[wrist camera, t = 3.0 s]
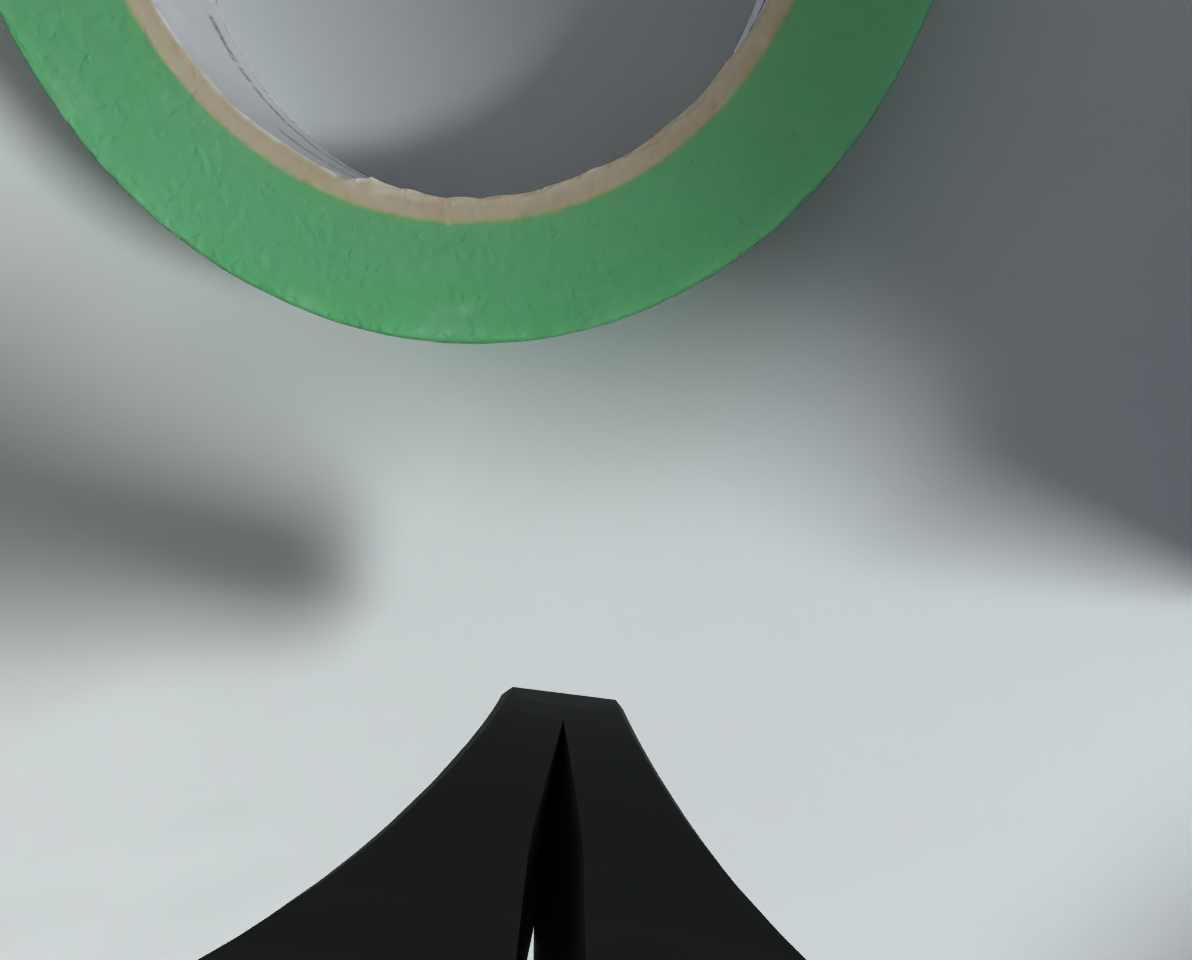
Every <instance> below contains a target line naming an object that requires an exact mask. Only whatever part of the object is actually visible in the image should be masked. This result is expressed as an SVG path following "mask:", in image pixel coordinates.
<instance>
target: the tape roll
mask: <svg viewBox="0 0 1192 960" xmlns="http://www.w3.org/2000/svg"><path fill="white" fill-rule="evenodd" d="M932 1H933V0H756V3H755V6H754V9H753V11H752V13H751V16H750V18H749V20H748V23H747V25H746V27H745V29H744V31H743V34H742V36H741V38H740V40H739V42H738V44H737V46H736V48H735V50H734V52H733V55H732V56H731V57H730V58H729V59H728V60H727V61H726V63H725V64H724V65H723V67H722V68H721V69H720V71H719V72H718V74H717V75H716V77H715V78H714V79H713V81H712V82H711V83H710V85H709V86H708V87H707V88H706V89H705V91H704V92H703V93H702V94H701V95H700V96H699V97H698V98H697V99H696V100H695V101H694V102H693V103H692V104H691V105H690V106H689V107H688V108H687V109H686V110H684V111H683V112H682V113H681V114H680V115H679V116H677V117H676V118H675V119H674V120H672V121H671V122H669V123H668V124H667V125H666V126H664V127H663V128H662V129H661V130H660V131H659V132H657V133H656V134H655V135H654V136H652V137H651V138H650V139H649V140H648V141H647V142H645V143H644V144H642V145H641V146H639V147H638V148H636V149H634V150H633V151H631V152H630V153H628V154H626V155H624V156H622V157H620V158H618V159H616V160H614V161H612V162H610V163H608V164H605V165H603V166H600V167H597V168H593V169H590V170H588V171H586V172H584V173H582V174H581V175H579V176H576V177H573V178H570V179H568V180H565V181H563V182H560V183H556V184H552V185H549V186H546V187H543V188H540V189H538V190H535V191H532V192H526V193H520V194H505V195H496V196H490V197H485V198H472V197H463V196H461V197H449V198H442V197H436V196H432V195H428V194H424V193H421V192H419V191H416V190H412V189H408V188H407V189H401V188H398V187H395V186H392V185H389V184H386V183H383V182H381V181H379V180H377V179H375V178H373V177H367V176H365V175H363V174H361V173H360V172H358V171H356V170H355V169H353V168H351V167H349V166H348V165H346V164H344V163H343V162H341V161H340V160H338V159H337V158H336V157H334V156H333V155H331V154H330V153H329V152H327V151H326V150H325V149H323V148H322V147H321V146H320V145H318V144H317V143H316V142H315V141H314V140H312V139H311V138H310V137H309V136H308V135H307V134H306V133H305V132H304V131H303V130H301V129H300V128H299V127H298V126H297V125H296V124H295V123H294V122H293V121H292V120H291V119H290V118H289V117H288V116H287V115H286V114H285V113H284V112H283V111H282V109H281V108H280V107H279V106H278V105H277V104H276V102H275V101H274V100H273V99H272V98H271V96H270V95H269V94H268V93H267V92H266V90H265V89H264V88H263V86H262V85H261V84H260V82H259V81H258V79H257V78H256V76H255V75H254V74H253V72H252V71H251V69H250V68H249V66H248V65H247V63H246V62H245V60H244V58H243V57H242V55H241V53H240V52H239V50H238V48H237V46H236V45H235V43H234V41H233V39H232V37H231V35H230V33H229V31H228V30H227V28H226V26H225V24H224V21H223V19H222V16H221V13H220V11H219V8H218V6H217V3H216V1H215V0H0V14H1V16H2V17H3V19H4V21H5V24H6V26H7V27H8V29H9V31H10V33H11V35H12V38H13V39H14V41H15V43H16V44H17V46H18V48H19V49H20V51H21V53H22V55H23V57H24V58H25V60H26V62H27V63H28V65H29V67H30V68H31V70H32V72H33V73H34V75H35V77H36V78H37V80H38V82H39V83H40V85H41V86H42V88H43V90H44V91H45V92H46V94H47V95H48V97H49V98H50V100H51V101H52V102H53V104H54V105H55V107H56V108H57V109H58V111H59V112H60V113H61V115H62V116H63V117H64V119H65V120H66V121H67V123H68V124H69V126H70V127H71V128H72V130H73V131H74V133H75V134H76V135H77V136H78V138H79V139H80V140H81V141H82V143H83V144H84V145H85V146H86V148H87V149H88V150H89V151H90V152H91V154H92V155H93V156H94V157H95V159H96V160H97V161H98V162H99V163H100V164H101V165H102V166H103V168H104V169H105V170H106V171H107V172H108V173H109V174H110V175H111V176H112V177H113V178H114V180H115V181H116V182H117V183H118V184H119V185H120V186H121V187H123V188H124V189H125V190H126V191H127V192H128V193H129V194H130V195H131V196H132V197H133V198H134V199H135V201H136V202H137V203H138V204H139V205H140V206H142V207H143V208H144V209H145V210H146V211H147V212H148V213H149V214H151V215H152V216H153V217H154V218H155V219H156V220H157V221H158V222H160V223H161V224H162V225H163V226H164V227H165V228H167V229H168V230H169V231H171V232H172V233H173V234H175V235H176V236H177V237H179V238H180V239H181V240H183V241H184V242H185V243H187V244H188V245H189V246H190V247H192V248H193V249H194V250H196V251H197V252H198V253H200V254H201V255H203V256H205V257H206V258H207V259H209V260H210V261H212V262H213V263H215V264H216V265H218V266H219V267H221V268H222V269H224V270H226V271H227V272H229V273H231V274H233V275H234V276H236V277H238V278H239V279H241V280H243V281H244V282H246V283H248V284H250V285H252V286H254V287H256V288H258V289H260V290H262V291H264V292H266V293H269V294H271V295H273V296H275V297H277V298H279V299H281V300H283V301H285V302H287V303H289V304H291V305H293V306H296V307H299V308H301V309H303V310H306V311H308V312H310V313H313V314H316V315H318V316H321V317H324V318H326V319H329V320H332V321H335V322H338V323H342V324H345V325H349V326H352V327H356V328H360V329H364V330H368V331H372V332H376V333H380V334H384V335H389V336H395V337H400V338H408V339H415V340H425V341H433V342H441V343H466V344H487V343H502V342H518V341H529V340H537V339H543V338H549V337H556V336H560V335H565V334H569V333H574V332H578V331H582V330H586V329H590V328H593V327H597V326H600V325H604V324H607V323H611V322H614V321H617V320H619V319H622V318H625V317H627V316H630V315H633V314H635V313H638V312H641V311H643V310H646V309H648V308H651V307H653V306H655V305H657V304H659V303H661V302H663V301H665V300H667V299H669V298H671V297H673V296H675V295H677V294H679V293H681V292H683V291H685V290H687V289H689V288H691V287H692V286H694V285H696V284H698V283H699V282H701V281H703V280H705V279H706V278H708V277H710V276H712V275H713V274H715V273H716V272H718V271H719V270H721V269H722V268H724V267H725V266H727V265H728V264H729V263H731V262H732V261H734V260H735V259H737V258H738V257H740V256H741V255H742V254H744V253H745V252H746V251H747V250H749V249H750V248H751V247H753V246H754V245H755V244H756V243H758V242H759V241H760V240H762V239H763V238H764V237H765V236H767V235H768V234H769V233H770V232H772V231H773V230H774V229H775V228H776V227H777V226H779V225H780V224H781V223H782V222H783V221H784V220H785V219H786V218H787V217H788V216H789V215H790V214H791V213H792V212H793V211H794V210H795V209H796V208H797V207H798V206H799V205H800V204H801V203H802V202H803V201H804V200H805V199H806V198H807V197H808V196H809V195H810V194H811V193H812V192H813V191H814V190H815V189H816V188H817V187H818V186H819V185H820V183H821V182H822V181H823V180H824V179H825V178H826V177H827V176H828V174H829V173H830V172H831V171H832V170H833V169H834V168H835V166H836V165H837V164H838V163H839V161H840V160H841V159H842V158H843V156H844V155H845V154H846V153H847V151H848V150H849V149H850V148H851V146H852V145H853V143H854V142H855V141H856V139H857V138H858V137H859V135H860V134H861V132H862V131H863V130H864V128H865V127H866V126H867V124H868V123H869V121H870V120H871V118H872V117H873V115H874V114H875V112H876V111H877V109H878V108H879V106H880V104H881V103H882V101H883V99H884V98H885V96H886V94H887V93H888V91H889V89H890V88H891V86H892V84H893V83H894V81H895V79H896V77H897V76H898V74H899V72H900V70H901V68H902V66H903V64H904V62H905V60H906V58H907V56H908V54H909V51H910V49H911V47H912V45H913V43H914V41H915V39H916V37H917V35H918V33H919V31H920V29H921V27H922V24H923V22H924V20H925V18H926V15H927V13H928V10H929V8H930V6H931V3H932Z"/></svg>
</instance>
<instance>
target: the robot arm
mask: <svg viewBox="0 0 1192 960" xmlns="http://www.w3.org/2000/svg"><path fill="white" fill-rule="evenodd" d="M533 928H534V960H806V959H805V958H804V957H803V956H802V955H801V954H800V953H799V952H798V951H797V950H796V949H795V948H794V947H793V946H792V945H791V944H790V943H789V942H788V941H787V940H786V939H785V938H784V937H783V936H782V935H781V934H780V933H779V932H778V931H777V930H776V929H775V928H774V926H773V925H772V924H771V923H770V922H769V921H768V920H767V919H766V918H765V917H764V915H763V914H762V913H761V912H760V911H759V910H758V909H757V908H756V907H755V906H754V904H753V903H752V902H751V901H750V900H749V899H748V898H747V897H746V896H745V895H744V893H743V892H742V891H741V890H740V889H739V888H738V887H737V886H736V884H735V883H734V882H733V881H732V880H731V878H730V877H729V876H728V875H727V873H726V872H725V871H724V870H723V868H722V867H721V866H720V864H719V863H718V862H717V860H716V859H715V858H714V856H713V855H712V854H711V852H710V851H709V850H708V848H707V847H706V846H705V844H704V843H703V842H702V840H701V839H700V838H699V836H698V835H697V833H696V832H695V830H694V829H693V828H692V826H691V825H690V823H689V822H688V820H687V819H686V818H685V816H684V815H683V813H682V811H681V810H680V808H679V807H678V805H677V804H676V802H675V801H674V799H673V798H672V796H671V794H670V793H669V791H668V790H667V788H666V787H665V785H664V784H663V782H662V781H661V779H660V777H659V776H658V774H657V772H656V771H655V769H654V767H653V766H652V764H651V762H650V760H649V758H648V757H647V755H646V753H645V751H644V750H643V748H642V746H641V744H640V742H639V741H638V739H637V737H636V735H635V733H634V731H633V729H632V727H631V725H630V723H629V721H628V719H627V717H626V715H625V713H624V711H623V709H622V708H621V706H620V705H619V704H618V702H617V701H616V700H611V699H603V698H595V697H588V696H580V695H572V694H564V693H556V692H548V691H540V690H532V689H524V688H516V687H512V688H511V689H509V690H508V691H506V692H505V693H504V694H502V695H501V697H500V699H499V701H498V703H497V704H496V706H495V707H494V709H493V710H492V712H491V713H490V715H489V716H488V718H487V719H486V720H485V722H484V723H483V724H482V726H481V727H480V728H479V729H478V731H477V732H476V733H475V734H474V736H473V737H472V738H471V740H470V741H469V742H468V743H467V744H466V745H465V747H464V748H463V749H462V750H461V751H460V752H459V753H458V754H457V756H456V757H455V758H454V759H453V760H452V761H451V762H450V764H449V765H448V766H447V767H446V768H445V769H444V770H443V771H442V773H441V774H440V775H439V776H438V777H437V778H436V779H435V780H434V781H433V782H432V783H431V784H430V785H429V786H428V787H427V788H426V789H425V790H424V791H423V792H422V793H421V794H420V795H419V796H418V797H417V798H416V799H415V800H414V801H413V802H412V803H411V804H410V805H409V806H407V807H406V808H405V809H404V810H403V811H402V812H401V813H400V814H399V815H398V816H397V817H396V818H395V819H394V820H393V821H392V822H391V823H390V824H389V825H388V826H386V827H385V828H384V829H383V830H382V831H381V832H380V833H378V834H377V835H376V836H375V837H374V838H373V839H371V840H370V841H369V842H368V843H367V844H366V845H364V846H363V847H362V848H361V849H360V850H358V851H357V852H356V853H355V854H354V855H352V856H351V857H350V858H348V859H347V860H346V861H345V862H343V863H342V864H341V865H340V866H338V867H337V868H336V869H334V870H333V871H332V872H331V873H329V874H328V875H327V876H325V877H324V878H323V879H321V880H320V881H319V882H317V883H316V884H315V885H313V886H312V887H310V888H309V889H307V890H306V891H305V892H303V893H302V894H300V895H299V896H297V897H296V898H295V899H293V900H292V901H290V902H289V903H287V904H286V905H284V906H283V907H282V908H280V909H279V910H277V911H276V912H274V913H273V914H272V915H270V916H269V917H267V918H266V919H264V920H263V921H261V922H260V923H258V924H257V925H255V926H254V927H252V928H250V929H249V930H247V931H246V932H244V933H243V934H241V935H240V936H238V937H236V938H235V939H233V940H231V941H230V942H228V943H226V944H225V945H223V946H221V947H219V948H218V949H216V950H214V951H212V952H211V953H209V954H207V955H205V956H204V957H202V958H200V959H198V960H527V957H528V952H529V947H530V942H531V938H532V933H533Z"/></svg>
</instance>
